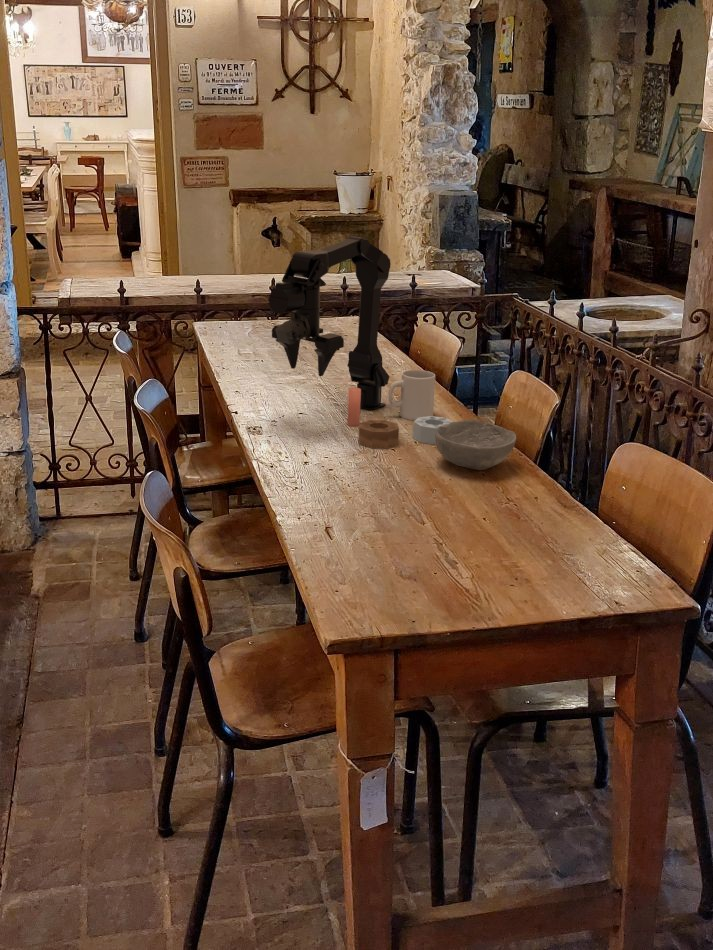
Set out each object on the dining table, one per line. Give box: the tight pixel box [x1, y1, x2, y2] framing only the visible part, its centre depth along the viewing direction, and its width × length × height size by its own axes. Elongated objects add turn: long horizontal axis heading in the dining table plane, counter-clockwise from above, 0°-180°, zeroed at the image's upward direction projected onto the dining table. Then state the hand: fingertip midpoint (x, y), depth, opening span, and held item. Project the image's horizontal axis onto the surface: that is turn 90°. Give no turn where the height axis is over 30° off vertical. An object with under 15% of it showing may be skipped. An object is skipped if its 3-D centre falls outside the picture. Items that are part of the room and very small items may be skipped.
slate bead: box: [412, 415, 454, 446], centre depth 244 cm, size 9×9×4 cm
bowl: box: [435, 419, 517, 471], centre depth 226 cm, size 18×18×8 cm
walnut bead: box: [358, 419, 400, 449], centre depth 240 cm, size 9×9×4 cm
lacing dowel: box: [346, 387, 361, 427], centre depth 251 cm, size 3×3×9 cm
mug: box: [388, 369, 436, 421], centre depth 259 cm, size 12×8×11 cm
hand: (306, 372), depth 245 cm, fingers open, 9 cm apart
